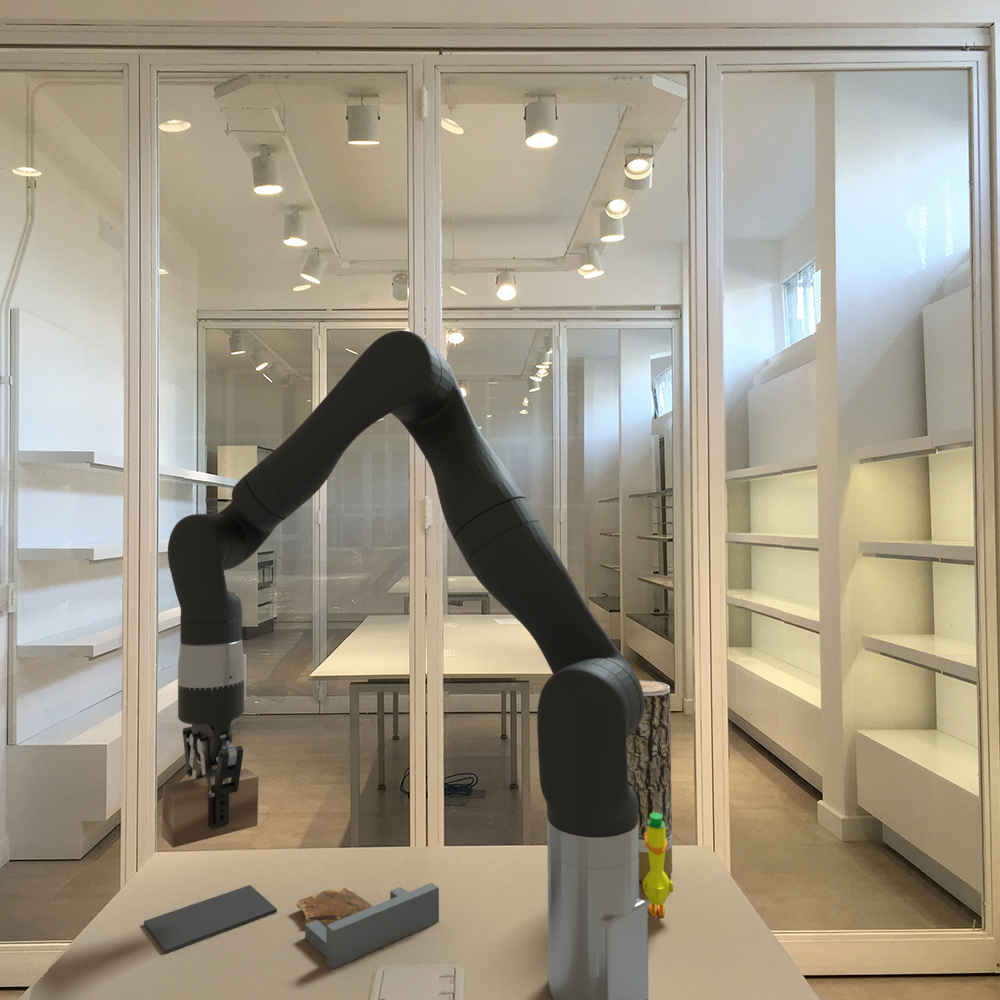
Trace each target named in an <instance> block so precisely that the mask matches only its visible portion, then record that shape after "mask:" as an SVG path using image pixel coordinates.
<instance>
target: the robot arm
mask: <svg viewBox="0 0 1000 1000" xmlns="http://www.w3.org/2000/svg"><path fill="white" fill-rule="evenodd" d="M389 414H390V415H393V416H394V417H395V418H396V419H397V420H399V421H400V423H401V424H402V425H403V426H404V427H405V429H406V430H407V432H408V433H409V434H410V436H411V437H412V439H413V440H414V442H415V443H416V445H417V447H418V448H419V449H420V452H421V453H422V454H423V456H424V458H425V460H426V461H427V463H428V466H429V467H430V470H431V472H432V476H433V478H434V482H435V486H436V490H437V495H438V499H439V504H440V508H441V511H442V514H443V517H444V520H445V523H446V525H447V528H448V530H449V531H450V534H451V536H452V539H453V540H454V542H455V544H456V545H457V547H458V549H459V551H460V553H461V555H462V556H463V558H464V560H465V562H466V563H467V565H468V567H469V569H470V570H471V572H472V574H473V575H474V576H475V578H476V579H477V581H478V582H479V583H480V584H481V586H482V587H484V589H486V591H487V592H488V593H489V594H490V595H491V596H492V597H493V598H494V599H495V600H496V601H497V602H498V603H499V604H500V605H501V606H502V607H503V608H505V609H506V611H508V612H509V613H510V614H511V615H512V616H513V617H514V618H515V619H516V620H517V621H518V622H519V623H520V624H522V625H523V627H524V628H525V629H526V630H527V631H528V633H529V635H531V637H532V638H533V640H534V641H535V643H536V645H537V646H538V648H539V649H540V651H541V653H542V655H543V657H544V659H545V661H546V662H547V665H548V667H549V668H550V670H551V671H550V672H551V673H552V675H551V676H550V677H549V678H548V679H547V681H546V682H545V683H544V685H543V687H542V689H541V691H540V694H539V699H538V703H537V704H538V705H537V714H536V715H537V716H536V720H537V721H536V723H537V724H536V725H537V726H536V729H537V730H536V731H537V752H538V754H537V756H538V769H539V770H538V771H539V772H538V773H539V774H538V775H539V785H540V789H541V792H542V793H541V794H542V795H543V798H544V801H545V803H546V816H547V818H546V819H547V822H546V824H547V828H546V829H547V833H546V834H547V927H548V928H547V931H548V933H547V934H548V937H547V938H548V949H547V950H548V990H549V993H550V996H551V997H552V1000H647V999H648V998H649V996H650V995H649V993H650V992H649V985H650V984H649V924H648V923H649V919H648V917H649V915H648V913H649V905H648V903H647V901H645V900H644V899H642V898H640V881H639V855H638V849H639V847H638V799H637V795H636V793H635V791H634V790H633V789H632V788H631V787H630V786H629V785H628V773H627V744H626V738H627V737H628V736H629V735H631V734H632V732H633V731H634V730H635V729H636V728H637V727H638V725H639V724H640V722H641V719H642V717H643V713H644V695H643V690H642V687H641V684H640V682H639V681H640V680H639V678H638V676H637V674H636V673H635V671H634V669H633V668H632V666H631V665H630V664H629V662H628V661H627V660H626V658H625V657H624V656H623V654H622V653H621V652H620V650H619V649H618V647H617V646H616V645H615V643H614V642H613V641H612V639H611V638H610V637H609V635H608V634H607V632H606V631H605V630H604V628H603V627H602V626H601V624H600V622H598V620H597V619H596V617H595V615H593V613H592V611H591V610H590V608H589V607H588V605H587V604H586V602H585V600H584V599H583V597H582V596H581V594H580V591H579V590H578V589H577V586H576V584H575V582H574V581H573V579H572V577H571V574H570V573H569V571H568V570H567V568H566V567H565V565H564V563H563V560H562V559H561V558H560V556H559V554H558V552H557V551H556V549H555V547H554V546H553V544H552V541H550V538H549V537H548V534H547V532H546V531H545V529H544V526H543V525H542V523H541V522H540V520H539V518H538V516H537V514H536V513H535V511H534V510H533V508H532V507H531V505H530V503H529V501H528V499H526V496H525V494H524V493H523V492H522V491H521V489H520V487H519V486H518V484H517V483H516V481H515V479H514V478H513V476H512V475H511V473H510V472H509V471H508V469H507V468H506V466H505V464H504V463H503V462H502V460H501V459H500V457H499V456H498V455H497V454H496V452H495V451H494V450H493V449H492V447H491V445H490V444H489V443H488V441H487V440H486V438H485V437H484V436H483V433H482V432H481V431H480V428H479V426H478V425H477V423H476V421H475V419H474V416H473V414H472V412H471V410H470V408H469V405H468V404H467V401H466V399H465V396H464V394H463V392H462V389H461V388H460V384H459V383H458V381H457V378H456V375H455V374H454V371H453V369H452V367H451V365H450V364H449V362H448V361H447V360H446V358H445V357H444V356H443V355H442V354H440V353H439V352H438V351H437V350H436V349H435V348H434V347H433V346H432V345H431V344H430V343H429V342H428V341H426V339H425V338H424V337H422V336H420V335H419V334H417V333H415V332H412V331H409V330H403V329H402V330H394V331H390V332H388V333H385V334H383V335H381V336H379V338H377V339H376V340H374V341H373V342H372V343H371V344H370V345H369V346H368V348H366V349H365V350H364V351H363V352H362V354H361V355H360V356H359V357H358V359H356V361H354V362H353V364H352V365H351V366H350V368H349V369H348V370H347V371H346V373H345V374H343V376H342V377H341V378H340V380H339V381H338V382H337V384H335V385H334V387H333V388H332V389H331V391H329V392H328V394H327V395H326V396H325V397H324V399H323V400H321V402H320V403H319V404H318V405H317V406H316V408H315V409H314V410H313V411H312V412H311V413H310V414H309V416H308V417H306V418H305V420H304V421H303V422H302V423H301V425H299V426H298V427H297V428H296V430H294V432H293V433H292V434H290V436H289V437H288V438H287V439H285V440H284V441H283V442H282V443H281V444H280V445H278V446H277V447H276V449H274V450H273V451H272V452H270V454H268V455H267V456H266V457H264V459H262V460H261V461H260V462H259V463H258V464H256V465H255V466H254V467H253V468H252V469H251V470H249V471H248V472H247V473H246V474H245V475H244V476H242V477H241V478H240V480H239V481H237V483H236V484H235V486H233V488H232V491H231V502H230V503H229V504H227V506H226V507H225V508H223V509H222V510H220V511H219V512H217V513H216V514H215V513H198V514H197V513H194V514H190V515H187V516H184V517H183V518H181V519H180V520H179V521H178V522H177V523H176V524H175V525H174V527H173V528H172V530H171V532H170V536H169V538H168V544H167V559H168V566H169V571H170V575H171V578H172V582H173V587H174V590H175V595H176V598H177V601H178V603H179V604H178V605H179V607H180V616H179V617H180V619H179V620H180V621H179V623H180V633H179V634H180V643H179V644H180V645H179V652H178V653H179V654H178V660H177V661H178V662H177V717H178V720H179V721H180V722H181V723H183V724H187V725H191V726H188V727H184V728H182V733H181V734H182V739H183V747H184V749H183V750H184V757H185V767H186V775H187V777H188V778H190V777H191V779H196V778H201V777H205V778H206V779H207V786H208V795H209V797H208V825H209V827H210V828H212V829H217V828H220V827H224V826H226V825H227V824H228V823H229V794H230V793H234V792H237V791H238V785H239V779H240V772H241V769H242V764H243V758H244V757H243V756H244V748H243V746H242V745H237V746H235V742H234V741H235V740H234V734H233V732H232V726H231V723H232V722H233V721H234V720H235V719H238V718H240V717H241V716H242V715H243V714H244V712H245V655H244V647H243V608H242V601H241V597H239V595H238V594H237V593H234V592H232V591H228V586H227V581H226V577H225V576H226V575H225V571H227V570H231V569H234V568H237V567H238V566H240V565H241V564H243V563H244V562H246V561H247V560H248V559H250V558H251V557H252V556H253V555H254V554H255V553H256V552H257V551H258V549H260V547H262V545H263V544H264V542H266V540H267V539H268V538H269V537H270V535H271V534H272V533H273V531H274V529H276V527H277V526H278V525H279V524H281V523H282V522H283V521H285V520H286V519H287V518H288V517H289V516H291V515H292V514H293V513H294V512H295V511H297V510H298V509H299V508H300V507H302V506H303V505H304V504H305V503H306V502H308V500H310V498H312V497H313V496H314V495H315V494H316V493H317V492H318V491H319V490H320V489H321V488H322V486H323V485H324V484H325V483H326V481H327V480H328V479H329V477H330V476H331V474H332V472H333V470H334V469H335V467H336V466H337V464H338V462H339V460H340V459H341V457H342V456H343V454H344V453H345V451H346V450H348V448H349V446H350V445H351V444H352V443H353V442H354V441H355V440H356V439H357V438H358V437H359V436H360V435H361V434H362V433H363V432H364V431H365V430H366V429H368V428H369V427H371V426H372V425H374V424H375V423H377V422H378V421H379V420H381V419H383V418H384V417H386V416H387V415H389ZM214 778H215V780H214ZM223 780H224V784H223Z"/></svg>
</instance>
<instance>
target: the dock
mask: <svg viewBox="0 0 1000 1000" xmlns="http://www.w3.org/2000/svg"><path fill="white" fill-rule="evenodd" d="M372 906H373V907H370V908H368V909H365V910H363V911H360V912H358V913H355V914H353V915H350V916H348V917H346V918H343V919H341V920H338V921H336V922H333V923H331V924H328V925H326V926H324V925H323V924H321V923H320V922H319V921H318V920H315V921H313V922H310V923H308V924H305V923H304V930H305V931H304V939H306V940H307V941H308V942H310V944H312V946H313V947H315V948H316V949H317V950H318V951H319V952H320V953H322V955H324V956H325V957H326V964H327V965H329V967H330V968H332V969H337V968H338V967H340V966H343V965H345V964H348V963H350V962H352V961H354V960H356V959H358V958H361V957H363V956H365V955H367V954H369V953H372V952H374V951H377V950H378V949H380V948H382V947H384V946H388V945H390V944H392V943H394V942H396V941H398V940H400V939H403V938H405V937H408V936H410V935H412V934H414V933H416V932H418V931H421V930H423V929H425V928H427V927H430V926H431V925H434V924H436V923H438V922H440V887H439V886H438V885H436V884H434V883H433V882H430V883H428V884H424V885H422V886H420V887H417V888H415V889H413V890H410V891H407V890H406V889H404V888H403V887H401V886H399V887H397V888H394V889H391V890H390V892H389V899H388V900H386V901H383V902H380V903H378V904H376V905H372Z"/></svg>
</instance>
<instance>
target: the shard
mask: <svg viewBox="0 0 1000 1000" xmlns="http://www.w3.org/2000/svg"><path fill="white" fill-rule="evenodd" d="M295 905H296V907H297V909H299V910H301V911H302V913H303V914H304V916H305V920H304V925H305V924H308V923H310V922H313V921H315V920H318V921H319V922H320V923H321V924H323V925H324V926H325V927H326V925H328V924H331V923H333V922H336V921H338V920H341V919H343V918H346V917H348V916H350V915H353V914H355V913H358V912H360V911H363V910H365V909H368V908H370V907H373V906H374V905H372V904H370V902H368V901H366V900H365V899H364V898H363V897H361V896H359V895H357V894H356V893H355V892H353V891H351V890H348V889H347V888H346V887H343V888H341V887H340V888H329V889H327V890H322V891H321V892H319V893H316V894H314V895H311V896H309V897H305V898H302V899H300V900H299V901H297V902H296V904H295Z"/></svg>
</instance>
